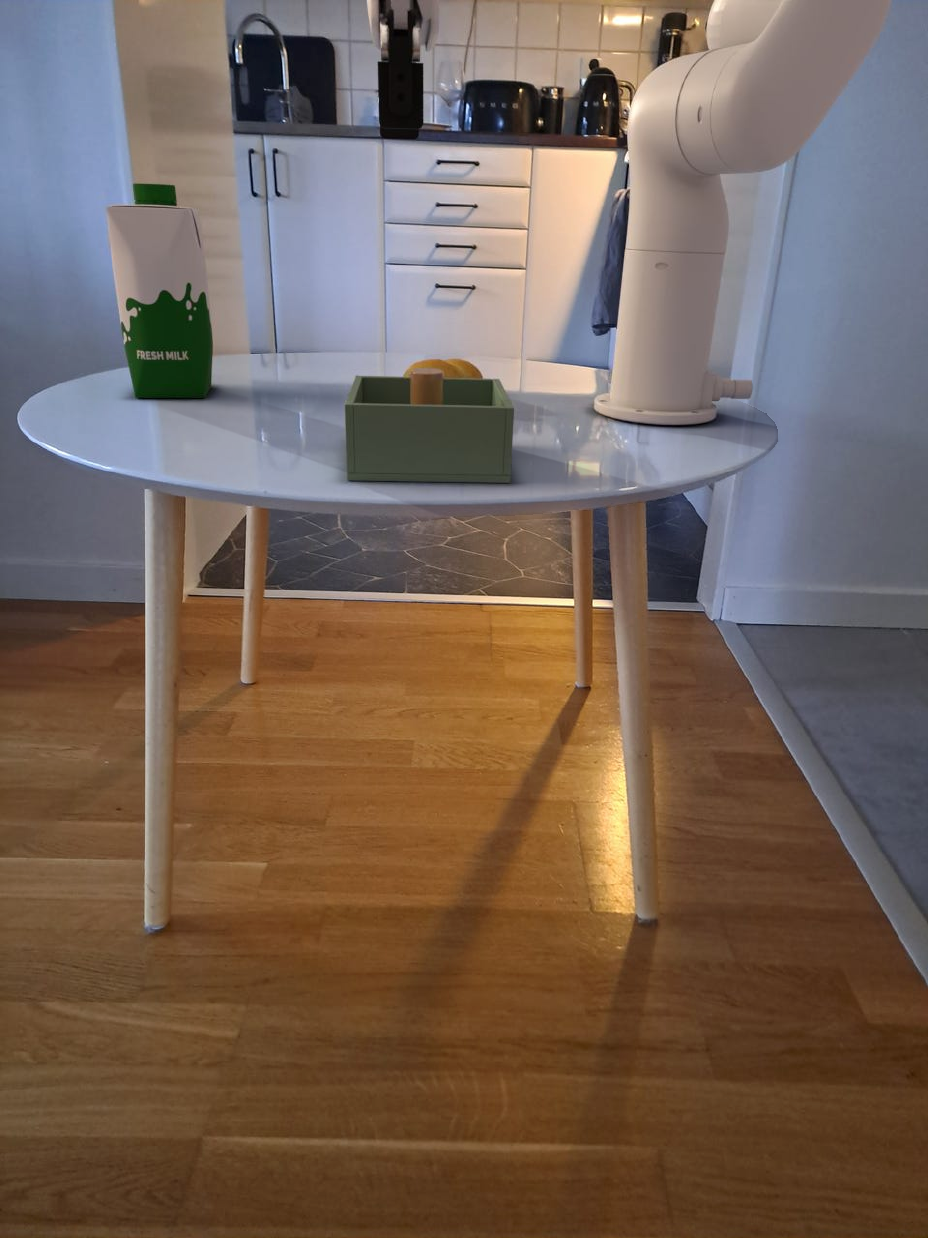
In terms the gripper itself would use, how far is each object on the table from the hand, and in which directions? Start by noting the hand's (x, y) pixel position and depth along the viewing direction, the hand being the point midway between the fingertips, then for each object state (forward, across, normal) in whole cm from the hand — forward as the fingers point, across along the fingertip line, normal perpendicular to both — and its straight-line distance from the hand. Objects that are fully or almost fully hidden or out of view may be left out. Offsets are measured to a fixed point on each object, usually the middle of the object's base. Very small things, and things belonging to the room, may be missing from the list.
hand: (400, 133), depth 65 cm
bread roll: (+24, +20, -5) cm, 32 cm away
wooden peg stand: (+23, -8, -2) cm, 25 cm away
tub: (+24, -8, -2) cm, 25 cm away
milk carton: (+24, +19, +24) cm, 39 cm away
